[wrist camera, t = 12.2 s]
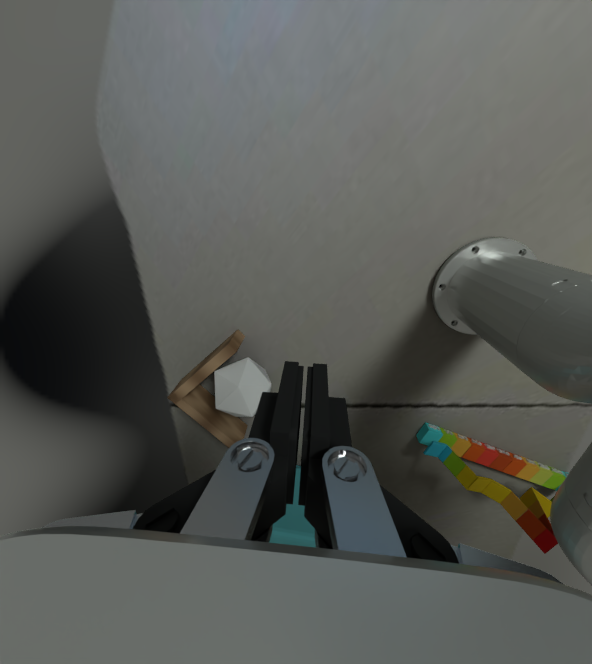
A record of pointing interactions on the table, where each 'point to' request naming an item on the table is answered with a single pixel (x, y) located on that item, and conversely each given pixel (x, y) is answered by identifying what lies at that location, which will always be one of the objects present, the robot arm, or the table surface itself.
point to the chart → (525, 510)
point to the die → (240, 387)
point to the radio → (294, 523)
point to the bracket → (210, 395)
